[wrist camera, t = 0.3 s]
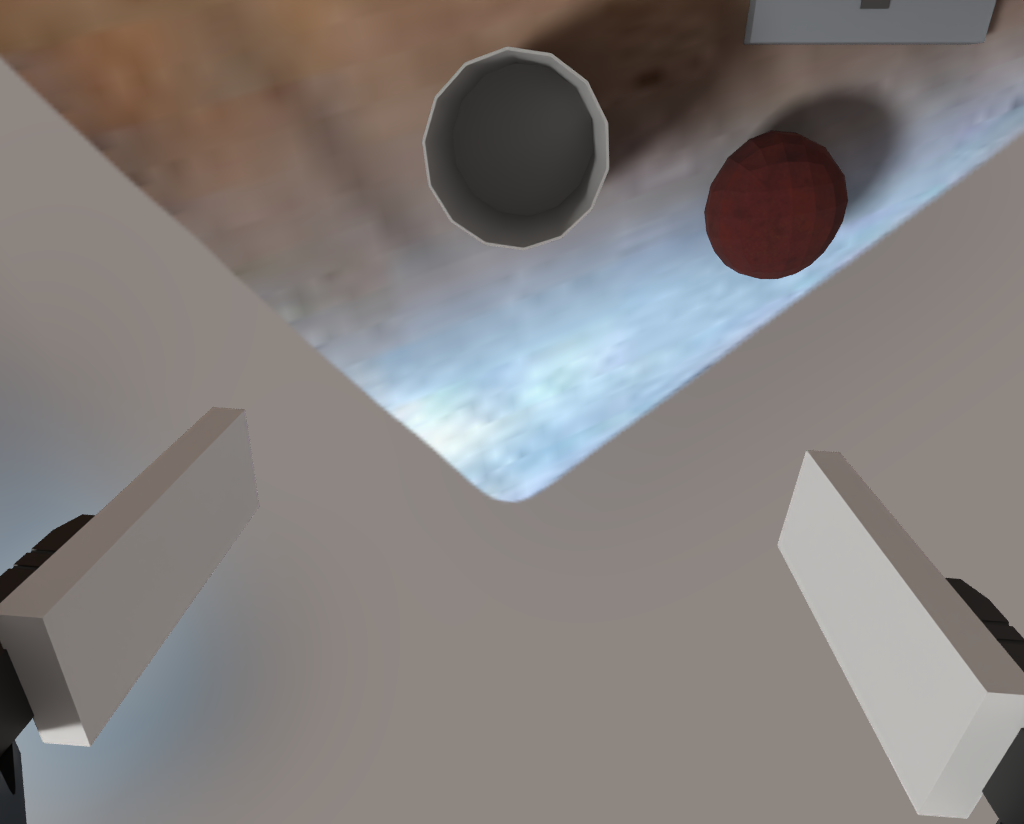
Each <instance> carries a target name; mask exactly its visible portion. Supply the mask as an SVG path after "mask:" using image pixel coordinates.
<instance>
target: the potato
mask: <svg viewBox="0 0 1024 824" xmlns="http://www.w3.org/2000/svg"><path fill="white" fill-rule="evenodd" d="M847 202H848V197H847V190H846V183H845V175H844V174H843V173H842V171H841V170H840V168H839V167H838V165H837V164H836V163H835V161H834V160H833V158H832V157H831V155H830V154H829V152H828V151H827V150H826V148H825V147H823V146H821V145H819V144H817V143H815V142H813V141H811V140H809V139H807V138H805V137H803V136H801V135H799V134H797V133H792V132H781V131H770V132H767V133H765V134H762V135H759V136H757V137H754V138H752V139H749V140H748V141H747V142H746V143H744V144H743V145H742V146H741V147H740V148H739V149H737V150H736V151H735V152H734V153H733V154H732V155H731V156H729V157H728V158H727V160H726V162H725V163H724V165H723V166H722V168H721V170H720V171H719V173H718V174H717V176H716V177H715V179H714V181H713V182H712V184H711V186H710V191H709V195H708V199H707V203H706V207H705V212H704V213H705V222H706V232H707V235H708V237H709V240H710V242H711V245H712V247H713V249H714V251H715V253H716V254H717V255H718V257H719V258H720V259H721V260H722V262H723V263H724V264H725V265H726V266H728V267H730V268H731V269H733V270H734V271H736V272H738V273H740V274H744V275H747V276H751V277H755V278H759V279H779V278H783V277H786V276H789V275H793V274H796V273H797V272H799V271H801V270H803V269H804V268H806V267H808V266H810V265H811V264H812V263H813V262H814V261H815V260H816V259H817V258H818V257H820V256H821V255H822V254H823V253H824V251H825V250H826V249H827V247H828V246H829V244H830V243H831V242H832V240H833V239H834V237H835V235H836V233H837V231H838V229H839V227H840V226H841V224H842V222H843V218H844V214H845V210H846V206H847Z"/></svg>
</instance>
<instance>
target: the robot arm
mask: <svg viewBox="0 0 1024 824" xmlns="http://www.w3.org/2000/svg"><path fill="white" fill-rule="evenodd" d="M258 508H259V500H258V493H257V486H256V480H255V474H254V466H253V460H252V453H251V447H250V440H249V433H248V426H247V420H246V413H245V410H244V409H230V408H216V407H212V408H211V409H210V410H209V411H208V412H207V413H206V414H205V415H204V416H203V417H202V418H201V419H199V420H198V421H197V422H196V423H195V424H194V425H193V426H192V427H191V428H190V429H189V430H188V431H186V432H185V433H184V434H183V435H182V436H181V437H180V438H179V439H178V440H177V441H176V442H175V443H173V444H172V445H171V446H170V447H169V448H168V449H167V450H166V451H165V452H164V453H163V454H162V455H160V456H159V457H158V458H157V459H156V460H155V461H154V462H153V463H152V464H151V465H150V466H149V467H147V468H146V469H145V470H144V471H143V472H142V473H141V474H140V475H139V476H138V477H137V478H135V479H134V481H132V482H131V483H130V484H129V485H128V486H127V487H126V488H125V489H124V490H123V491H121V492H120V493H119V494H118V495H117V496H116V497H115V498H114V499H113V500H112V501H111V502H110V503H108V505H106V506H105V507H104V508H103V509H102V510H101V511H100V512H99V513H98V514H96V515H83V514H82V515H80V516H79V517H77V518H75V519H73V520H71V521H69V522H67V523H65V524H64V525H62V526H60V527H58V528H56V529H54V530H53V531H51V533H49V534H48V535H47V536H46V537H45V538H44V539H42V540H41V541H40V542H39V543H38V544H37V545H35V546H34V547H33V548H32V551H31V553H26V554H25V555H24V556H23V557H22V558H21V559H19V560H18V561H17V562H16V563H15V564H14V567H13V568H12V569H8V570H7V571H6V572H5V573H3V574H2V575H1V576H0V824H27V823H26V811H25V799H24V787H23V777H22V764H21V753H20V751H19V749H18V746H17V744H16V742H15V739H16V737H17V736H18V735H19V734H20V733H21V731H22V730H23V729H24V728H25V727H26V725H27V724H28V723H29V722H30V721H31V719H32V718H33V720H34V722H35V725H36V727H37V729H38V732H39V734H40V736H41V739H42V741H43V743H53V744H65V745H77V746H89V747H90V746H91V745H92V744H93V742H94V741H95V739H96V738H97V736H98V735H99V733H100V732H101V731H102V729H103V728H104V726H105V725H106V724H107V722H108V721H109V719H110V718H111V717H112V715H113V714H114V712H115V711H116V709H117V708H118V706H119V705H120V704H121V702H122V701H123V700H124V698H125V696H126V695H127V694H128V692H129V691H130V690H131V688H132V687H133V685H134V684H135V682H136V681H137V680H138V678H139V677H140V675H141V674H142V672H143V671H144V670H145V668H146V667H147V665H148V664H149V663H150V661H151V660H152V658H153V657H154V656H155V654H156V653H157V651H158V650H159V648H160V647H161V645H162V644H163V643H164V641H165V640H166V638H167V637H168V636H169V634H170V632H171V631H172V630H173V628H174V627H175V626H176V624H177V623H178V621H179V620H180V619H181V617H182V616H183V614H184V613H185V611H186V610H187V609H188V607H189V606H190V604H191V603H192V602H193V600H194V599H195V597H196V596H197V594H198V593H199V592H200V590H201V589H202V587H203V586H204V585H205V583H206V582H207V580H208V579H209V577H210V576H211V575H212V573H213V572H214V570H215V569H216V567H217V566H218V565H219V563H220V562H221V560H222V559H223V558H224V556H225V555H226V553H227V552H228V550H229V549H230V548H231V546H232V545H233V543H234V542H235V541H236V539H237V538H238V536H239V535H240V533H241V532H242V531H243V529H244V528H245V526H246V525H247V523H248V522H249V521H250V519H251V518H252V516H253V515H254V514H255V512H256V511H257V509H258ZM778 547H779V549H780V551H781V553H782V555H783V557H784V559H785V561H786V562H787V565H788V566H789V568H790V570H791V572H792V574H793V576H794V578H795V580H796V582H797V584H798V586H799V588H800V589H801V591H802V593H803V595H804V597H805V599H806V601H807V603H808V605H809V607H810V609H811V611H812V612H813V614H814V616H815V618H816V620H817V622H818V624H819V626H820V628H821V630H822V632H823V634H824V635H825V637H826V639H827V641H828V643H829V645H830V647H831V649H832V651H833V653H834V655H835V657H836V659H837V660H838V662H839V664H840V666H841V668H842V670H843V672H844V674H845V676H846V678H847V680H848V682H849V683H850V685H851V687H852V689H853V691H854V693H855V695H856V697H857V699H858V701H859V703H860V705H861V707H862V708H863V710H864V712H865V714H866V716H867V718H868V720H869V722H870V724H871V726H872V728H873V730H874V731H875V733H876V735H877V737H878V739H879V741H880V743H881V745H882V746H883V749H884V751H885V752H886V754H887V756H888V758H889V760H890V762H891V764H892V766H893V768H894V770H895V772H896V773H897V776H898V777H899V779H900V781H901V783H902V785H903V787H904V789H905V791H906V793H907V794H908V797H909V799H910V800H911V802H912V804H913V806H914V808H915V810H916V812H917V814H918V815H928V816H940V817H953V818H965V819H967V818H968V817H969V815H970V814H971V812H972V811H973V809H974V807H975V806H976V804H977V803H978V801H979V800H980V798H981V796H982V795H983V794H984V796H985V797H986V799H987V800H988V802H989V804H990V805H991V807H992V808H993V810H994V811H995V813H996V815H997V816H998V818H999V820H998V821H997V823H996V824H1024V638H1023V637H1022V636H1021V635H1020V634H1019V633H1018V632H1017V631H1016V630H1015V628H1014V627H1013V626H1009V622H1008V620H1007V619H1006V618H1005V617H1004V616H1003V615H1002V614H1001V613H1000V611H999V610H998V609H997V608H996V607H995V606H994V605H993V604H992V602H991V601H990V600H989V599H988V598H986V597H985V596H983V595H982V594H981V593H979V592H978V591H976V590H975V589H973V588H972V587H971V586H969V585H968V584H967V583H965V582H964V581H962V580H961V579H952V578H944V576H943V575H942V574H941V573H940V572H939V570H938V569H937V568H936V567H935V566H934V565H933V563H932V562H931V561H930V560H929V558H928V557H927V556H926V555H925V554H924V552H923V551H922V550H921V549H920V548H919V546H918V545H917V544H916V543H915V542H914V540H913V539H912V538H911V537H910V536H909V535H908V533H907V532H906V531H905V530H904V529H903V527H902V526H901V525H900V524H899V523H898V521H897V520H896V519H895V518H894V517H893V515H892V514H891V513H890V512H889V511H888V509H887V508H886V507H885V506H884V505H883V504H882V503H881V501H880V500H879V499H878V497H877V496H876V495H875V494H874V493H873V492H872V490H871V489H870V488H869V487H868V486H867V484H866V483H865V482H864V481H863V479H862V478H861V477H860V476H859V475H858V474H857V472H856V471H855V470H854V469H853V468H852V467H851V465H850V464H849V463H848V462H847V461H846V459H845V458H844V457H843V456H842V455H841V453H839V452H826V451H811V450H806V454H805V457H804V460H803V464H802V467H801V470H800V473H799V477H798V480H797V483H796V486H795V490H794V493H793V496H792V499H791V503H790V506H789V509H788V512H787V516H786V519H785V522H784V525H783V529H782V532H781V535H780V539H779V542H778Z"/></svg>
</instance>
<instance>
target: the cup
mask: <svg viewBox="0 0 1024 824" xmlns="http://www.w3.org/2000/svg"><path fill="white" fill-rule="evenodd" d="M422 144H423V151H424V158H425V165H426V172H427V179H428V186H429V187H430V189H431V191H432V192H433V194H434V196H435V197H436V199H437V200H438V202H439V204H440V205H441V207H442V208H443V210H444V212H445V213H446V215H447V217H448V218H449V220H450V221H451V222H452V223H453V224H454V225H456V226H457V227H459V228H460V229H462V230H463V231H465V232H466V233H468V234H469V235H471V236H472V237H474V238H475V239H477V240H478V241H480V242H481V243H483V244H484V245H490V246H497V247H504V248H511V249H518V250H527V249H530V248H533V247H536V246H539V245H542V244H545V243H548V242H552V241H555V240H558V239H561V238H563V237H564V236H565V235H566V234H567V233H568V232H569V231H570V230H571V229H572V228H573V227H574V226H575V225H577V224H578V223H579V222H580V221H581V220H582V219H583V218H584V217H585V216H586V215H587V214H588V213H589V212H590V211H591V210H592V209H593V207H594V204H595V202H596V200H597V197H598V195H599V192H600V190H601V188H602V185H603V183H604V180H605V178H606V176H607V173H608V171H609V136H608V121H607V119H606V117H605V115H604V113H603V111H602V109H601V107H600V105H599V103H598V101H597V99H596V97H595V95H594V93H593V91H592V89H591V87H590V84H589V82H588V81H587V80H586V79H584V78H583V77H582V76H581V75H579V74H578V73H577V72H575V71H574V70H573V69H571V68H570V67H569V66H567V65H566V64H565V63H564V62H562V61H561V60H560V59H558V58H557V57H556V56H554V55H553V54H552V53H547V52H540V51H533V50H527V49H520V48H513V47H504V48H502V49H499V50H497V51H494V52H491V53H489V54H486V55H484V56H481V57H478V58H476V59H473V60H470V61H468V62H465V63H464V64H463V65H462V66H461V68H460V69H459V70H458V71H457V72H456V73H455V74H454V76H453V77H452V78H451V79H450V80H449V81H448V82H447V84H446V85H445V86H444V87H443V88H442V89H441V90H440V92H439V93H438V94H437V95H436V96H435V97H434V101H433V105H432V108H431V112H430V115H429V119H428V122H427V126H426V129H425V133H424V136H423V140H422Z"/></svg>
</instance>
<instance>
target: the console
mask: <svg viewBox="0 0 1024 824" xmlns="http://www.w3.org/2000/svg"><path fill="white" fill-rule="evenodd" d="M995 3H996V0H750V5H749V12H748V19H747V26H746V33H745V40H744V44H976V43H984V41H985V37H986V34H987V31H988V27H989V24H990V20H991V17H992V13H993V10H994V6H995Z"/></svg>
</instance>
